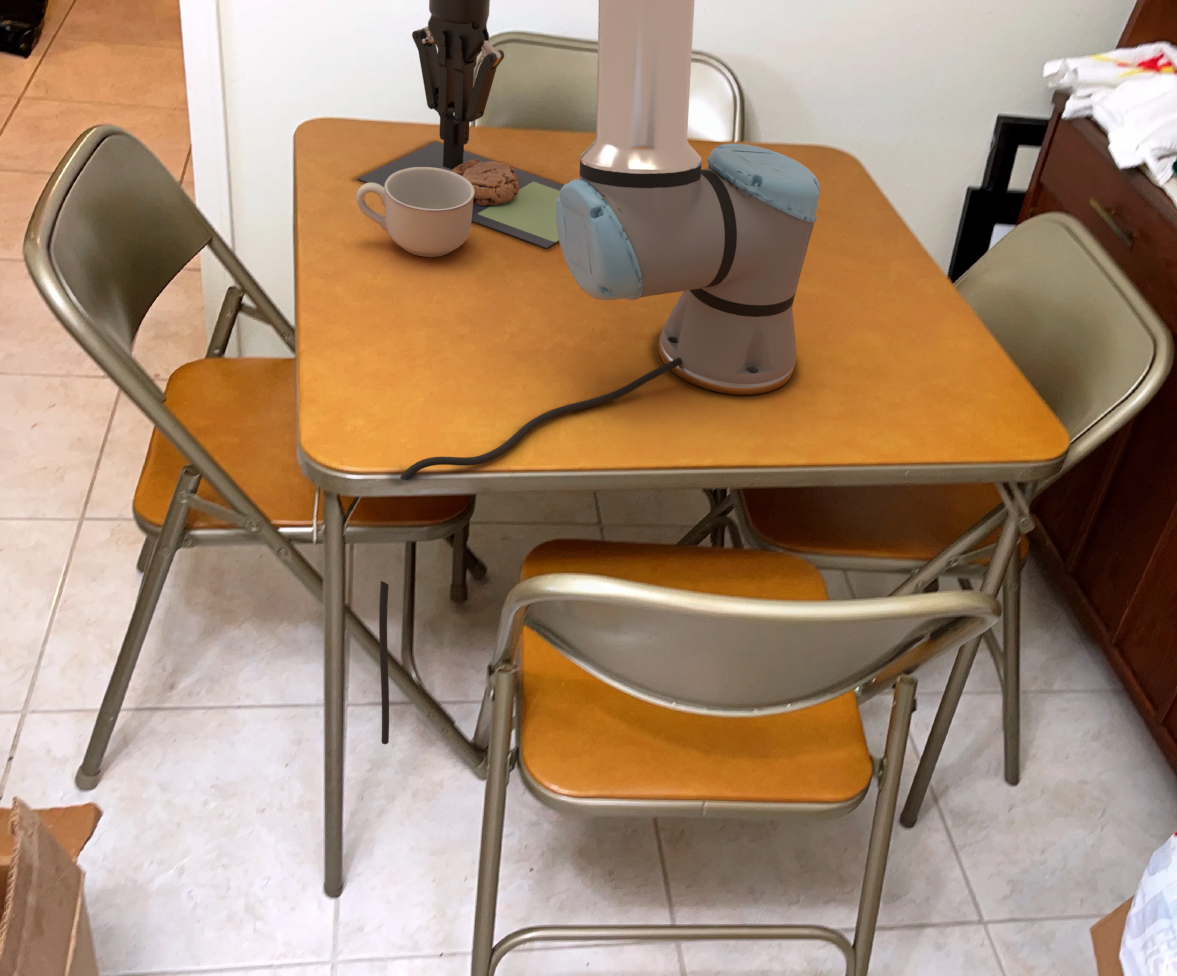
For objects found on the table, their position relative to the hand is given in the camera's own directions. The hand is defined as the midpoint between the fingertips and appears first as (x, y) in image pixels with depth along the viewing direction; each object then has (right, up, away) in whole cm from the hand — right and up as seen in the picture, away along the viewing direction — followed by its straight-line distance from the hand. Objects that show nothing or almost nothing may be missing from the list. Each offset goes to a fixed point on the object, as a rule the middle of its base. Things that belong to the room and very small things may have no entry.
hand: (453, 165), depth 154 cm
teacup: (-3, -14, -15) cm, 21 cm away
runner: (+5, -4, 0) cm, 6 cm away
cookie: (+5, -4, 0) cm, 6 cm away
